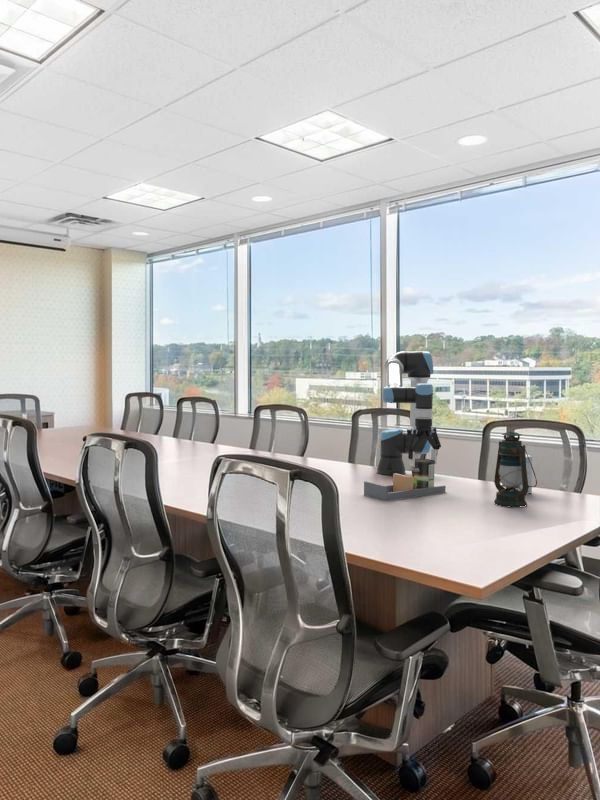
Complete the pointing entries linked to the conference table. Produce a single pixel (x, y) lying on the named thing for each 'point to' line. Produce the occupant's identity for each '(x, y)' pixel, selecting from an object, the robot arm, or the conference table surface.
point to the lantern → (511, 472)
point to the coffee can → (423, 473)
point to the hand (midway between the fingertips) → (422, 464)
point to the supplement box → (528, 474)
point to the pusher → (402, 482)
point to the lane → (382, 491)
